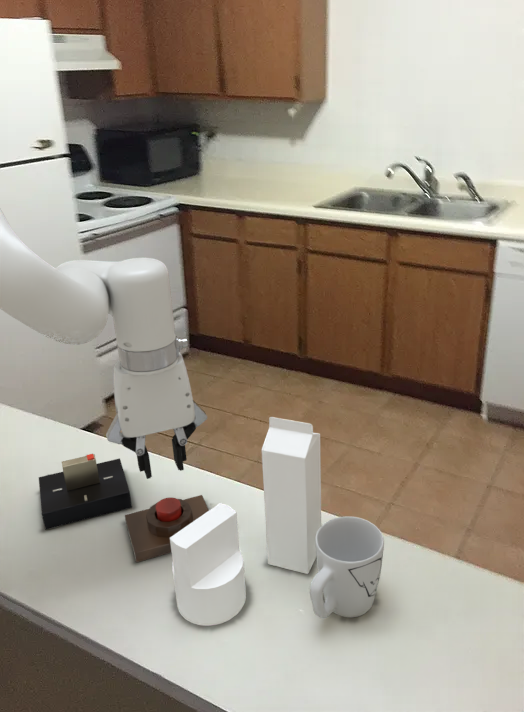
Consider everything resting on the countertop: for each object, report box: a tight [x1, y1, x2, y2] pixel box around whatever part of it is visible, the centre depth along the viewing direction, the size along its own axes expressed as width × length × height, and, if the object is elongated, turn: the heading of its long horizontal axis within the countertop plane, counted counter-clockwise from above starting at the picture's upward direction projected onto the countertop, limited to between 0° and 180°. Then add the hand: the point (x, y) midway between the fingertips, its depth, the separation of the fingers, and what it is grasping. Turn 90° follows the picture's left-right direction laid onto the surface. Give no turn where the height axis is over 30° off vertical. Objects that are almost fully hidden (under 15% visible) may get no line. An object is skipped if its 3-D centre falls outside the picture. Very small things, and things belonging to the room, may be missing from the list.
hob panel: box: [38, 458, 133, 531], centre depth 106 cm, size 13×10×3 cm
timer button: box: [155, 497, 182, 522], centre depth 98 cm, size 4×4×2 cm
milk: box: [261, 416, 322, 575], centre depth 89 cm, size 6×6×22 cm
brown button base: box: [124, 494, 210, 563], centre depth 99 cm, size 12×9×4 cm
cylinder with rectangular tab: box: [170, 502, 247, 627], centre depth 85 cm, size 9×9×12 cm
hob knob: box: [61, 453, 100, 491], centre depth 105 cm, size 5×2×5 cm, turn 112°
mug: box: [309, 515, 385, 620], centre depth 83 cm, size 11×8×10 cm
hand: (163, 468), depth 95 cm, fingers open, 3 cm apart
